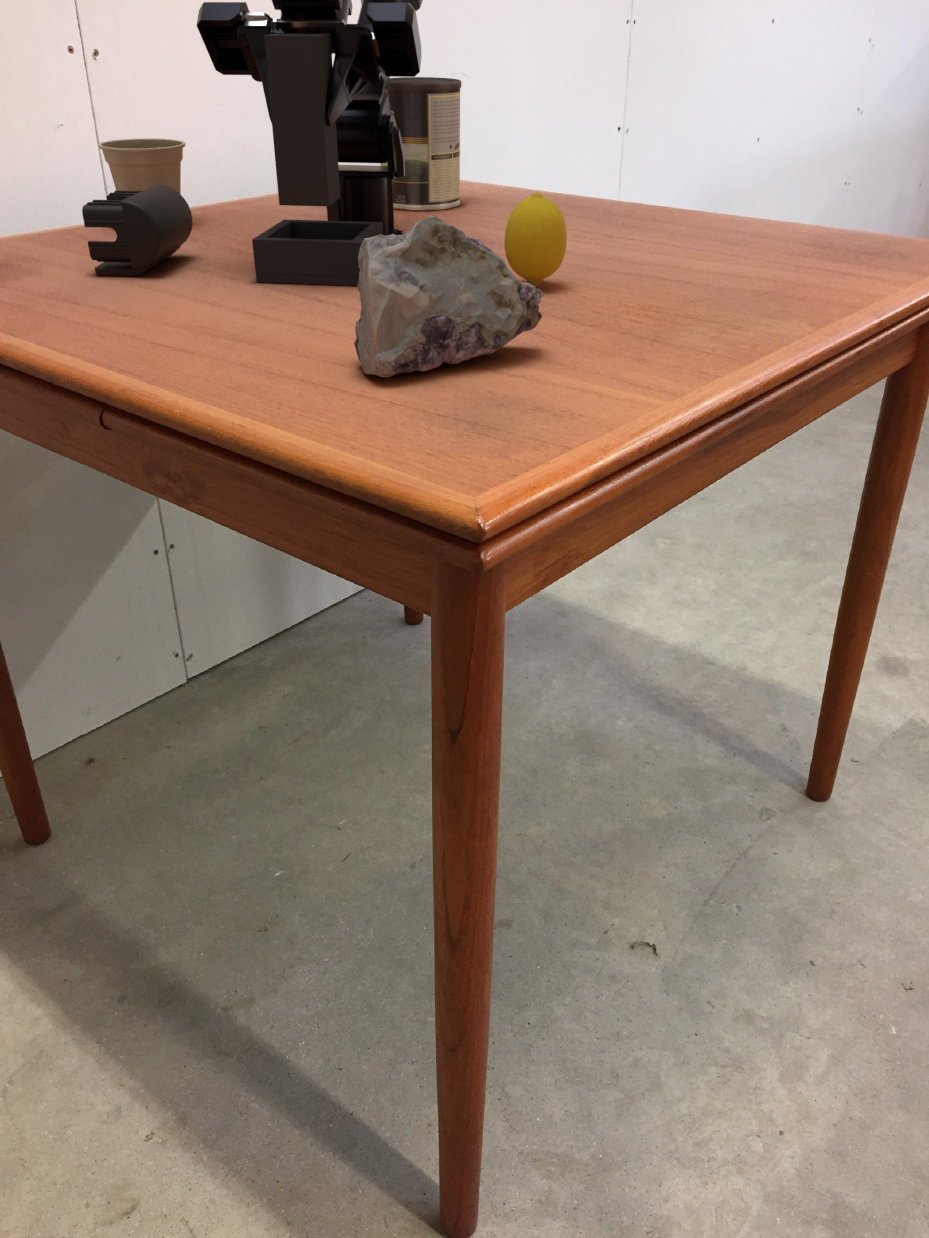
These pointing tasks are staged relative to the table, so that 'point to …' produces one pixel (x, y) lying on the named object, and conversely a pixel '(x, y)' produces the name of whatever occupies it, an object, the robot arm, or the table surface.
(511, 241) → the lemon
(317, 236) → the socket pad
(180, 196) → the end cap
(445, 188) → the coffee can
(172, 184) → the flower pot
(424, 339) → the mineral rock
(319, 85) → the pad block
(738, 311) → the table surface
